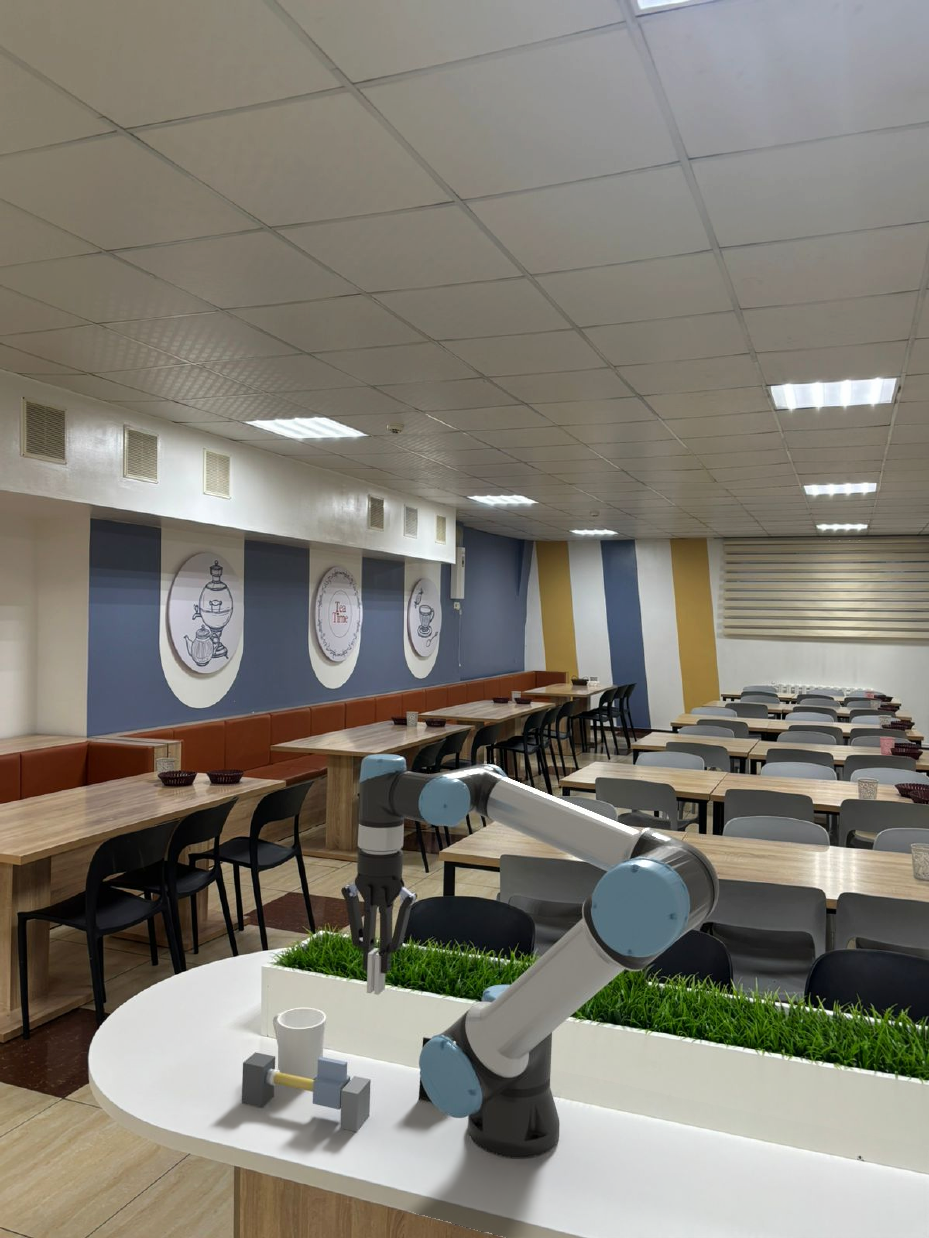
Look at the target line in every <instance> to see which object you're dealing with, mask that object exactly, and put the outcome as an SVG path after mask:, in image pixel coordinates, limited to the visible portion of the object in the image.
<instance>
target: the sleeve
mask: <svg viewBox="0 0 929 1238" xmlns="http://www.w3.org/2000/svg"><path fill="white" fill-rule="evenodd" d="M350 1080H351V1075H348V1061H346V1060H345V1061H344V1060H339V1059H333V1058H330V1057H329V1058H328V1057H324V1056H323V1057H320V1058H319V1059H318V1070H317V1078H316V1079H315V1080H314V1081H313V1092H312V1104H313V1105H315V1106H316V1105H317V1106H321V1107H326V1108H331V1109H335V1110H340V1111H341V1090H342V1087H343V1086H346V1085H347V1084H348V1083H349V1081H350Z"/></svg>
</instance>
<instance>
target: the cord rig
mask: <svg viewBox="0 0 929 1238" xmlns="http://www.w3.org/2000/svg"><path fill="white" fill-rule="evenodd" d="M241 1081H242V1084H241V1104H243V1105H248V1106H251V1107H254V1108H255V1107H256V1108H261V1109H263V1108H264V1107H265V1106H266V1105H267V1104H268V1103H270V1101H271V1100H272V1099H273V1098H274V1097H275V1087H276V1086H277V1085H280V1086H284V1087H289V1088H294V1089H298V1090H303V1091H307V1092H311V1093H313V1081H314V1080H313V1079H308V1078H303V1077H299V1076H294V1075H289V1074H285V1073H280V1070H278V1068H276V1055H271V1054H270V1055H269V1054H265V1053H260V1052H254V1053H252V1054H251V1055H250V1056H248V1058H247V1059H246V1060H244V1061H242V1080H241ZM370 1106H371V1079H370V1078H366V1077H361V1076H357V1075H355V1076H353V1077H352V1078H350V1081H349V1083H348V1084H347V1085H346V1086H343V1087H342V1090H341V1109H340V1123H339V1126H340V1127H339V1128H340V1129H341V1130H342V1129H343V1130H347V1131H352V1132H356V1133H357V1132H359V1130H360V1128H361V1127H362V1126H363V1125H364V1124H365V1123H366V1121H367V1120H368V1119H369V1117H370V1110H371V1109H370V1108H371V1107H370Z"/></svg>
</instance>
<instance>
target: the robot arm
mask: <svg viewBox="0 0 929 1238" xmlns="http://www.w3.org/2000/svg"><path fill="white" fill-rule="evenodd" d="M360 764H361V765H360V773H359V774H360V775H359V780H358V783H359V817H358V832H357V847H358V848H359V850H358V851H357V865H356V869H357V871H356V872H357V874H356V877H355V879H354V882H352V883H348V884H346V885H345V886H344V887H342V888H340V890H341V894H342V896H343V898H344V901H345V903H346V910H347V917H348V923H349V928H350V936H351V942H352V945H353V946H354V947H356V948H357V947H358V948H360V949H361V950H362V969H363V971H366V972H367V973H366V974H367V977H366V993H367V994H372V993H373V992H374V993H373V994H374V995H377V996H379V995H380V994H381V993H382V992H383V991H384V990H385V989H386V974H387V973H389V971H390V970H391V967H392V966H391V964H392V954H393V953H397V951H398V950H400V949H401V948H402V947H403V945H404V940H405V936H406V931H407V927H408V923H409V919H410V914H411V909H412V906H413V905H414V903H415V901H416V900H417V898H418V894H417V893H416V892H415V891H413V892H411V891H410V890H408V888H406V887H405V882H404V880H403V861H404V852H403V850H402V848H403V846H404V826H405V819H408V820H412V821H416V822H421V823H426V824H430V825H433V826H436V827H440V826H443V827H444V826H445V827H456V826H458V825H460V824H461V823H462V820H464V819H465V818H466V817H467V815H468V814H471V813H474V814H477V815H479V816H482V817H484V818H486V819H489V820H491V821H494V822H496V823H499V824H501V825H503V826H505V827H507V828H509V829H512V830H514V831H517V832H518V833H521V834H523V835H525V836H528V837H530V838H532V839H534V840H536V841H538V842H541V843H544V844H545V845H548V846H550V847H552V848H554V849H557V850H559V851H561V852H563V853H566V854H568V855H569V856H573V857H575V858H576V859H579V860H580V861H584V862H585V863H589V865H592V866H595V867H597V868H599V869H601V870H604V871H606V873H604V874H603V876H602V877H601V878H600V879H599V881H598V882H597V883H596V884H597V885H596V886H595V888H594V890H593V892H592V893H591V894H590V895H589V896H588V897H587V898H586V899H585V900H584V902H583V904H582V908H581V914H582V918H581V919H580V920H579V921H578V922H577V923H576V924H575V925H574V926H573V927H571V928H570V929H569V930H568V931H567V932H566V933H565V934H564V935H563V936H562V937H561V938H559V940H557V942H556V943H554V944H553V945H552V946H551V947H550V948H549V949H548V950H547V951H546V952H544V954H543V955H541V956H540V957H539V958H538V959H537V960H536V961H534V963H533V964H532V965H530V967H528V968H527V970H525V971H524V972H523V973H522V974H521V975H520V976H519V977H518V978H516V979H515V981H513V983H511V984H497V985H495V984H494V985H492V986H488V987H487V988H485V990H484V991H483V993H482V998H481V1001H479V1002H477V1003H475V1004H473V1005H472V1006H471V1007H470V1008H469V1009H468V1010H466V1012H464V1014H462V1015H461V1016H460V1017H459V1018H458V1019H457V1020H456V1021H455V1022H453V1024H451V1025H450V1026H449V1027H448V1028H447V1029H445V1030H444V1031H442V1032H441V1033H440V1034H435V1035H433V1036H432V1037H431V1039H430V1041H428V1042H427V1043H426V1044H425V1045H424V1047H423V1049H421V1051H420V1053H419V1054H420V1055H419V1060H418V1065H419V1070H420V1071H419V1078H420V1077H421V1081H422V1084H423V1087H424V1089H425V1091H426V1093H427V1095H428V1097H429V1098H430V1100H431V1101H432V1102H431V1103H432V1104H433V1105H434V1106H435V1107H436V1108H437V1109H438V1110H439V1111H440V1112H442V1113H443V1114H447V1115H448V1116H449V1117H451V1118H455V1119H463V1118H467V1117H468V1118H467V1133H468V1135H469V1138H470V1139H471V1140H472V1142H473V1143H474V1144H475V1145H477V1147H479V1148H481V1149H482V1150H483V1151H485V1152H487V1153H490V1154H493V1155H496V1156H499V1157H503V1158H512V1159H525V1158H526V1159H527V1158H534V1157H537V1156H540V1155H542V1154H545V1153H548V1152H549V1151H550V1150H552V1149H553V1148H554V1147H556V1145H557V1143H558V1141H559V1139H560V1117H559V1114H558V1110H557V1106H556V1103H555V1099H554V1096H553V1093H552V1088H551V1072H552V1070H551V1068H552V1047H553V1046H552V1045H553V1044H552V1043H553V1042H552V1041H553V1040H552V1039H553V1032H554V1031H555V1030H556V1029H557V1028H559V1027H560V1026H561V1025H562V1024H563V1023H564V1022H565V1021H566V1020H567V1019H568V1018H570V1017H571V1016H572V1015H573V1014H574V1013H576V1012H577V1011H578V1010H579V1009H580V1008H582V1007H583V1006H584V1005H585V1004H586V1003H587V1002H588V1001H589V1000H591V999H592V998H593V997H594V996H596V995H597V993H599V992H600V991H601V990H602V989H603V988H605V987H606V986H607V985H608V984H609V983H611V981H613V980H614V979H615V978H616V977H617V976H618V975H619V974H620V973H622V972H623V971H624V970H627V971H630V972H639V971H641V970H644V969H645V968H646V967H647V966H648V965H650V964H651V963H652V962H653V961H654V960H655V959H657V958H658V957H659V956H660V955H662V954H663V953H664V952H665V951H666V950H667V949H668V948H670V947H671V946H673V944H674V943H675V942H676V941H678V940H679V939H680V938H681V937H684V935H686V934H687V933H688V932H690V931H692V930H693V929H694V928H696V926H699V925H700V924H702V923H704V922H705V920H707V919H708V918H709V917H710V916H711V915H712V914H713V912H714V910H715V908H716V906H717V904H718V900H719V895H720V883H719V878H718V875H717V874H718V873H717V872H716V869H715V867H714V865H713V863H712V862H711V860H710V859H709V858H708V857H707V856H706V854H704V853H703V852H702V851H701V850H700V849H698V848H697V847H695V846H694V845H693V844H690V843H688V842H686V841H684V840H682V839H679V838H677V837H674V836H672V835H670V834H667V833H664V832H662V831H659V830H657V829H655V828H651V827H645V828H644V829H642V830H639V829H636V828H634V827H631V826H628V825H626V824H623V823H621V822H618V821H616V820H613V819H611V818H609V817H605V816H603V815H601V814H599V813H596V812H594V811H591V810H588V809H586V808H583V807H581V806H579V805H576V804H573V803H571V802H568V801H565V800H564V799H561V798H559V797H557V796H553V795H551V794H549V793H545V792H544V791H540V790H539V789H536V788H534V787H531V786H529V785H525V784H524V783H520V782H518V781H516V780H513V779H511V778H509V777H508V775H507V774H506V773H505V772H504V770H502V768H501V767H500V766H497V765H495V764H490V763H488V764H487V763H480V764H474V765H472V766H471V765H470V766H468V767H463V768H457V769H453V770H448V771H442V772H437V773H429V774H428V773H422V772H413V771H409V770H407V769H408V768H407V761H406V758H405V757H404V756H400V755H398V754H390V753H381V754H380V753H379V754H378V753H377V754H376V753H375V754H371V755H370V754H369V755H367V756H365V757H363V759H362V760H361V763H360ZM359 894H360V895H361V898H362V899H363V908H362V909H363V911H364V912H363V915H364V916H363V917H362V911H361V903H360V898H359ZM399 896H400V897H399ZM398 897H399V898H400V899H399V902H400V907H399V909H398V913H397V918H396V922H395V926H394V929H393V910H394V905H395V904H394V902H395V901H396V899H397V898H398ZM377 911H378V912H377ZM377 913H379V948H378V947H375V946H376V945H377V942H376V929H377Z"/></svg>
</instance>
